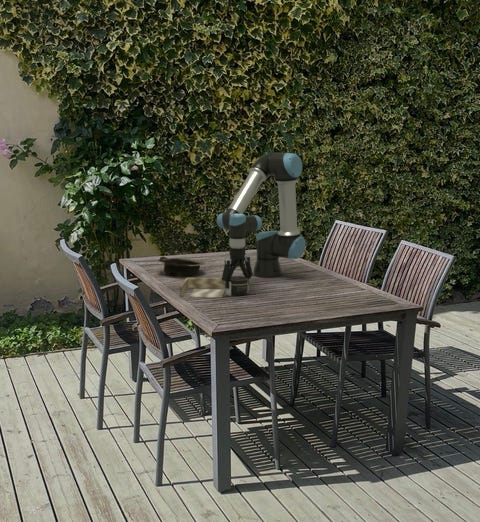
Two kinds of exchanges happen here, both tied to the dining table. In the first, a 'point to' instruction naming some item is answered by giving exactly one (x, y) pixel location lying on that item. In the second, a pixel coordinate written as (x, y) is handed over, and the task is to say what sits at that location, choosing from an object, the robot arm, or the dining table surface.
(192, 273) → the stone bowl
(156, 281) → the dining table surface
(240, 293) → the jar
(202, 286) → the arena
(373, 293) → the dining table surface
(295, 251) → the robot arm
